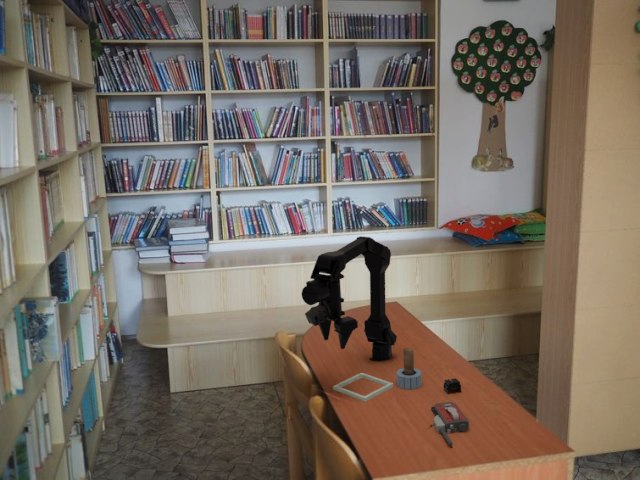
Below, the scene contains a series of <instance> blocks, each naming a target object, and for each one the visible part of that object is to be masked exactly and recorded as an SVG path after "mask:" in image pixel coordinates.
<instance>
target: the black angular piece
mask: <svg viewBox="0 0 640 480" xmlns="http://www.w3.org/2000/svg"><path fill="white" fill-rule="evenodd" d="M442 387H443V391H444V392H445V394H447V395H449V394H450V391H451V390H453V391H454V390H455V391H456V390H457V391H456V393H462V385H461V381H459V380H458V379H457V378H450V379H444V382H443V385H442Z"/></svg>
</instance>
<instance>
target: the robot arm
mask: <svg viewBox="0 0 640 480" xmlns="http://www.w3.org/2000/svg"><path fill="white" fill-rule="evenodd" d="M359 256H363V257H364V264H365V266H366V268H367V269H368V272H369V284H370V285H369V290H370V291H369V293H370V294H369V295H370V299H369V300H370V301H369V303H370V305H369V306H370V310H369V311H370V313H369V314H370V315H369V316H368V318H367V319H366V320H365V319H364V322H363V323H364V333H365V337H366V340H367V342H368V343H372V349H371V354H372V355H371V356H370V357H369V360H370V361H373V362H383V361H387V360H390V359H392V355H393V352H392V349H393V347H392V346H395V345H396V343H397V339H398V338H397V334H395V332H393V330H392V326H391V320H390V319H389V318H388V316H387V314H386V271H387V269H388V268H389V266H390V264H391V257H392V252H391V249H390V248H389V247H388V246H386V245H384V244H383V243H380V242H378V241H376V240H375V239H374V238H372V237H370V236H369V237H368V236H361V235H360V236H357V238H356V239H354V240H353V241H350V242H349V243H348V244H346V245H344V246H342V247H341V248H340V249H337V250H335V251H328V252H324V253H321V254H319V255H318V256H317V259H316V261H315V263H314V267H313V269H312V272H311V274H310V275H311V276H310V279H311V280H307V281H306V285H305V286H304V287H303V288H302V290H301V298H302V300H303V302H305V304H306V305H309V306H312V307H310V309H309V310H307V311H306V312H305V313H304V315H305V317H306V320H307V322H308V323H309V324H310V325H313V326H314V327H316V326H317V327H319V330H320V332H321V334H322V336H323V340H324V341H328V340H329V337H330V333H331V332H330V331H331V325H332V322H334V323H333V328H334V329H333V331H334V332H335V333H336V334H337V335H338V340H339V341H338V342H339V347H340V349H341V350H344V349H345V348H346V346H347V343H348V342H349V339H350V337H351V335H352V333H353V331H355V330H356V329H358V328H359V326H358V324H359V322H358V321H359V320H357V319H356V318H355V317H354V318H353V317H351V316H349V315H347V316H345V315H346V311H344V310H343V309H342V308H343V306H342V303H344V302H345V298H343V297H342V293H341V292H342V291H341V280H342V279H344V278H345V275H344V274H343V273H342V272H343V271H344V270H345V269H346V267H347V266H346V265H347V264H348V263H349V262H351V261H352V260H354V259H356V258H358V257H359ZM316 304H318V305H316ZM314 305H316V306H314ZM342 316H344V317H342Z"/></svg>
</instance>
